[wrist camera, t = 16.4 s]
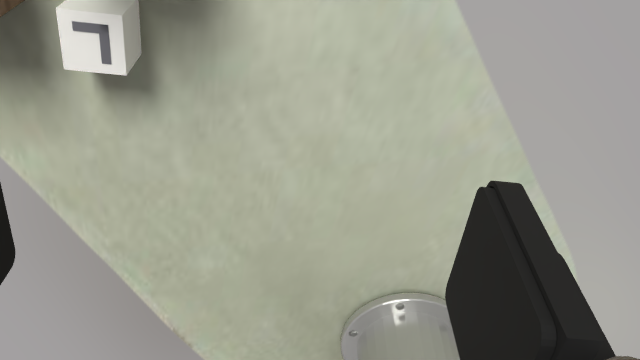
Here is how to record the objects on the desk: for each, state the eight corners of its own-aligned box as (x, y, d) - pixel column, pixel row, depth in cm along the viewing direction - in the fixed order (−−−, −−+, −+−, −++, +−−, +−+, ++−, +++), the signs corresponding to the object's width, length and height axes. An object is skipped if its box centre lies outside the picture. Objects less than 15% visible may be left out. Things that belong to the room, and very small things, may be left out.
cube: (138, -4, 39) (121, 15, 36) (142, 53, 41) (126, 76, 38) (78, -10, 39) (55, 8, 36) (84, 47, 41) (63, 69, 38)
